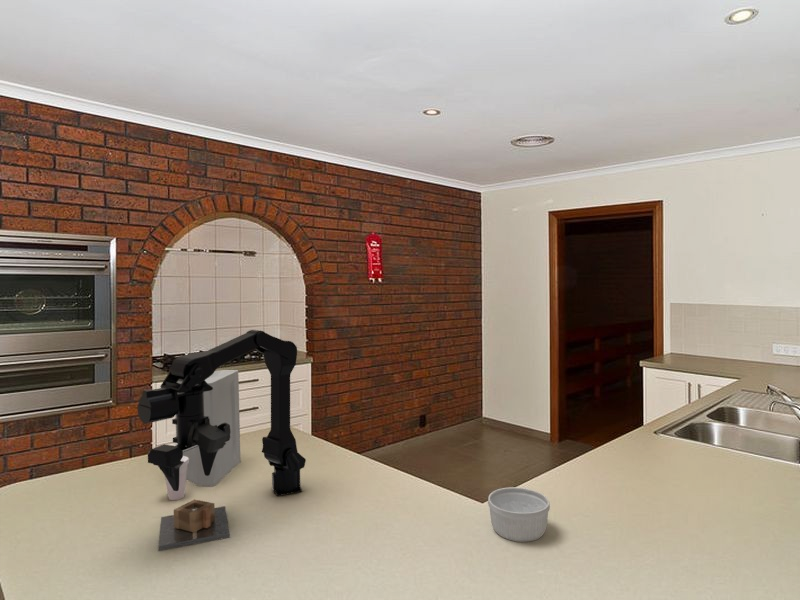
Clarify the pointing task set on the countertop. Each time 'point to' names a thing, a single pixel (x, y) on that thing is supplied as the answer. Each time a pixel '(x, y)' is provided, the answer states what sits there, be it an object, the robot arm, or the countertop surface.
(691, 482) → the countertop surface
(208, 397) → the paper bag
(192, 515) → the wooden cubby with handle
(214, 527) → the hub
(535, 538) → the ramekin
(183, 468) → the smoothie
